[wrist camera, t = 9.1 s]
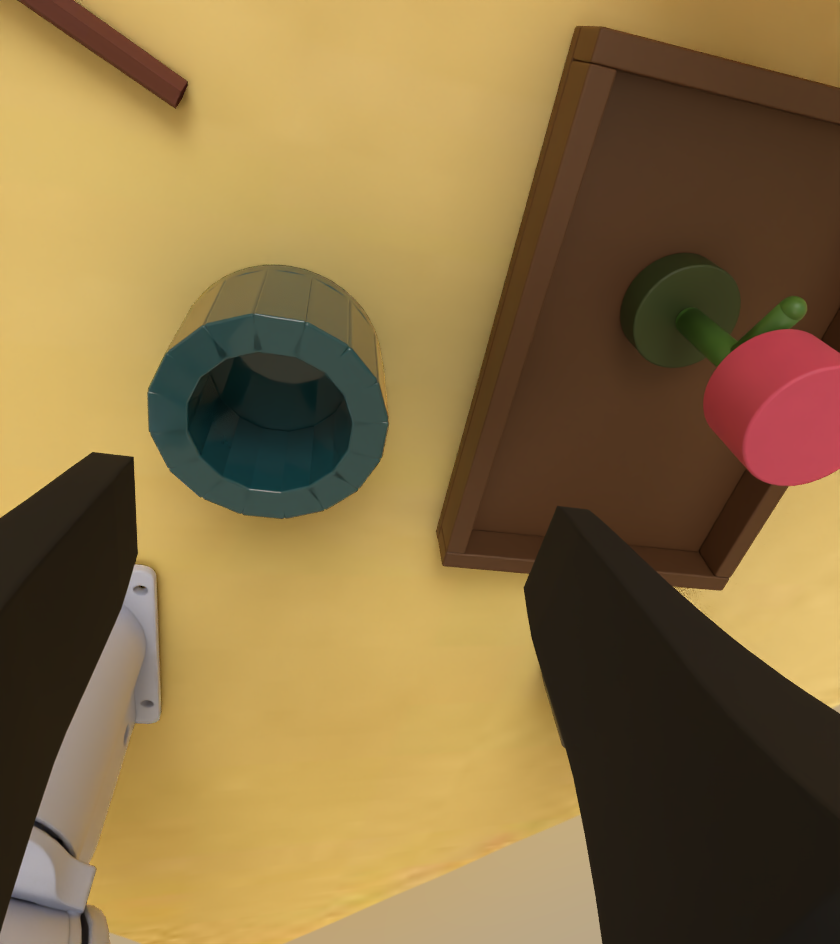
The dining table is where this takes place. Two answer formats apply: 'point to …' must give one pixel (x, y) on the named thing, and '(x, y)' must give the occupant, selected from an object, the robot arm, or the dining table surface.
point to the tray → (601, 295)
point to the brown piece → (112, 47)
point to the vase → (271, 394)
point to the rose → (742, 367)
